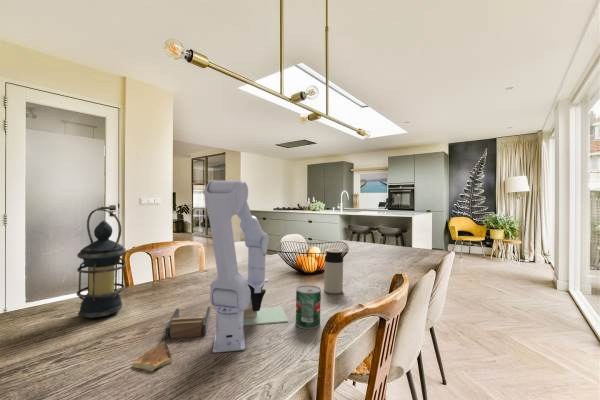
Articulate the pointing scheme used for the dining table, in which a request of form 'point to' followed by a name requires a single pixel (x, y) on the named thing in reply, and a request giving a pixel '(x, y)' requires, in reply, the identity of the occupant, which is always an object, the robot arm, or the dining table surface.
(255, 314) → the birch block
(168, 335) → the rack
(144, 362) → the shard
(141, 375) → the dining table surface
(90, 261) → the lantern
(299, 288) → the canned tomato
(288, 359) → the dining table surface
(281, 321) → the rubber mat
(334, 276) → the travel mug
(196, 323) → the offcut stack
